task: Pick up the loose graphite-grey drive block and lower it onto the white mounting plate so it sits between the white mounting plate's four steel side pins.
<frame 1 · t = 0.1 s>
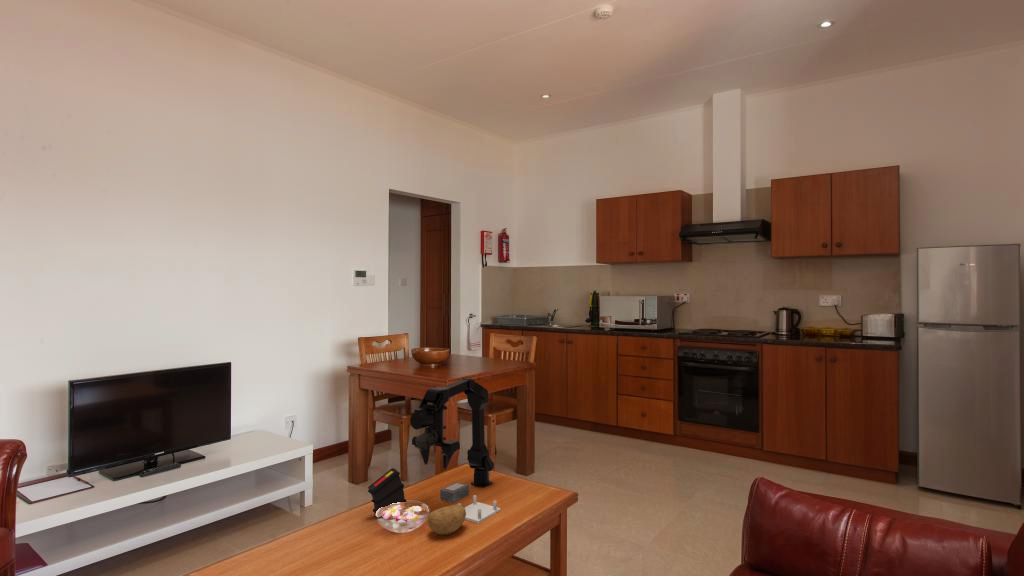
hand: (435, 466, 191), 14 cm above the table, tool pointing down, fingers open, 9 cm apart
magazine: (387, 514, 185), on the table
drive: (454, 498, 200), on the table
white mounting plate: (477, 513, 186), on the table
potato: (447, 532, 171), on the table
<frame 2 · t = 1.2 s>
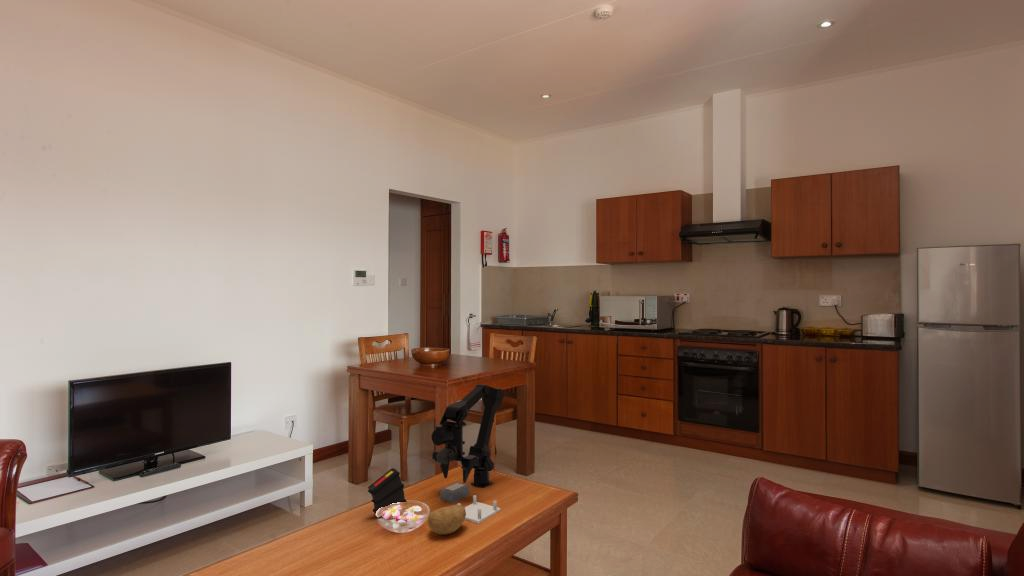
hand: (455, 480, 201), 6 cm above the table, tool pointing down, fingers open, 9 cm apart
nothing on the table moved.
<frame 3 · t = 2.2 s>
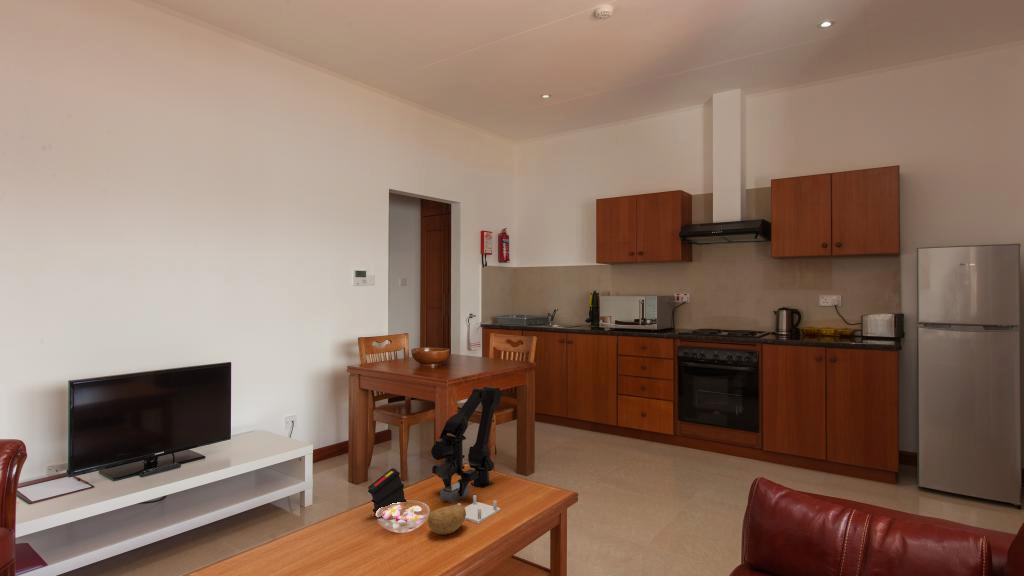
hand: (454, 494, 200), 1 cm above the table, tool pointing down, fingers closed on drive, 6 cm apart
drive: (454, 497, 200), on the table, touching gripper
everything else where it was.
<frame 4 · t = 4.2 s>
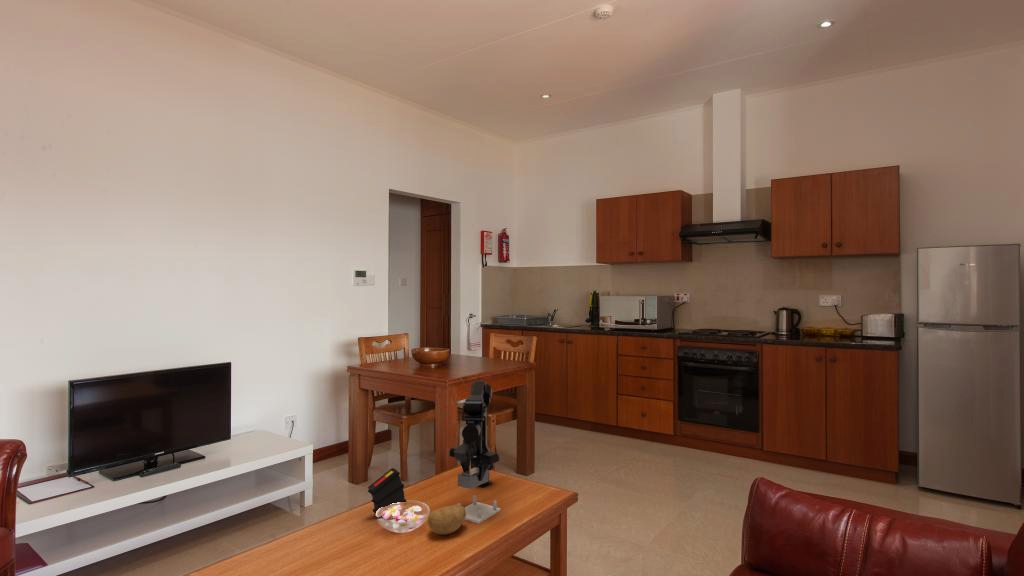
hand: (473, 479, 187), 11 cm above the table, tool pointing down, fingers closed on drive, 6 cm apart
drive: (473, 483, 187), point 10 cm above the table, touching gripper
everything else where it was.
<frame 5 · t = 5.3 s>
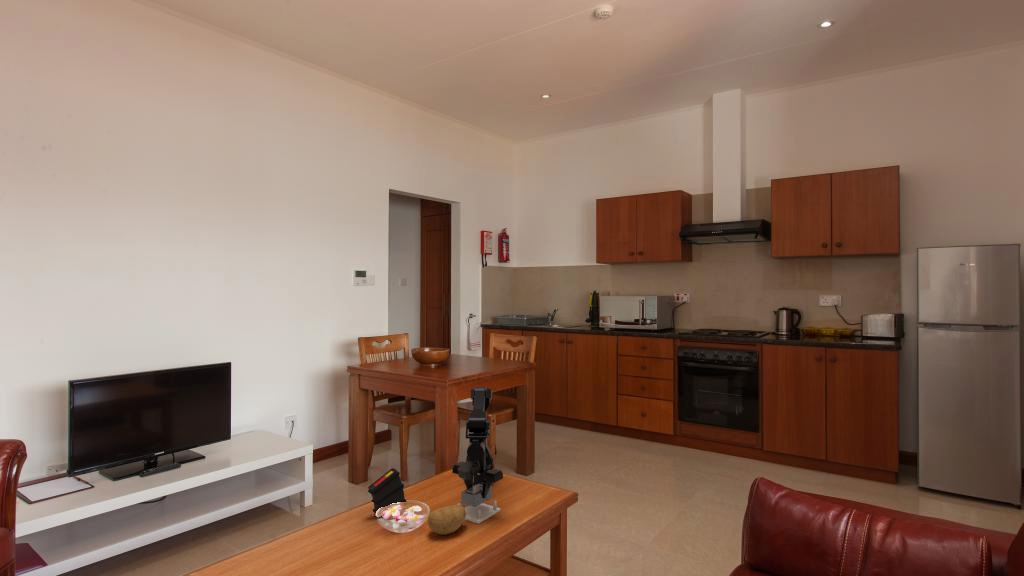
hand: (477, 496, 186), 6 cm above the table, tool pointing down, fingers closed on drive, 6 cm apart
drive: (476, 500, 186), point 4 cm above the table, touching gripper
everything else where it was.
when the fingers open (3 cm above the table, at t = 6.2 s): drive drops 1 cm, resting on white mounting plate.
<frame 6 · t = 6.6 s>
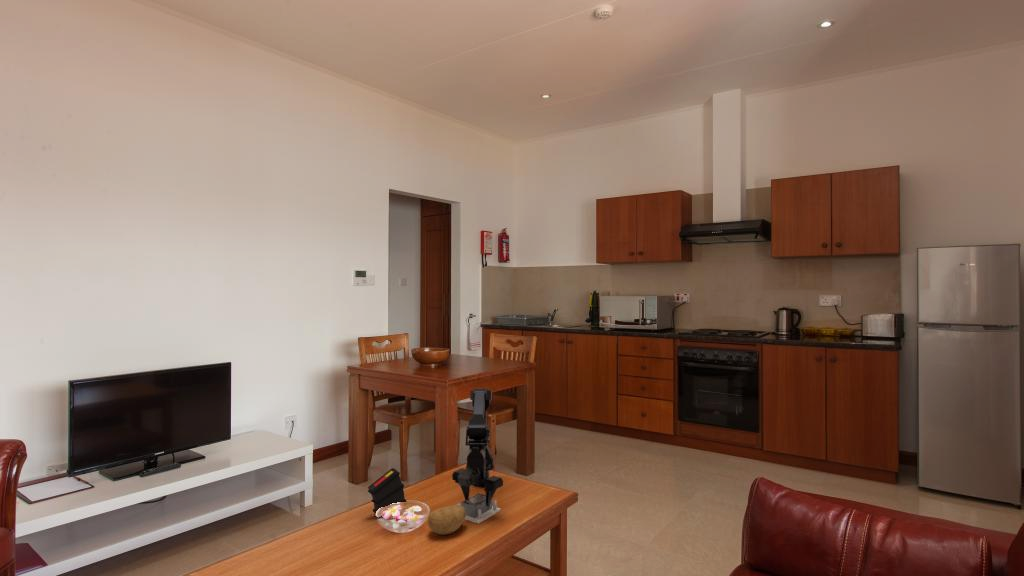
hand: (477, 503, 186), 3 cm above the table, tool pointing down, fingers open, 9 cm apart
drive: (476, 510, 186), point 1 cm above the table, touching white mounting plate
everything else where it was.
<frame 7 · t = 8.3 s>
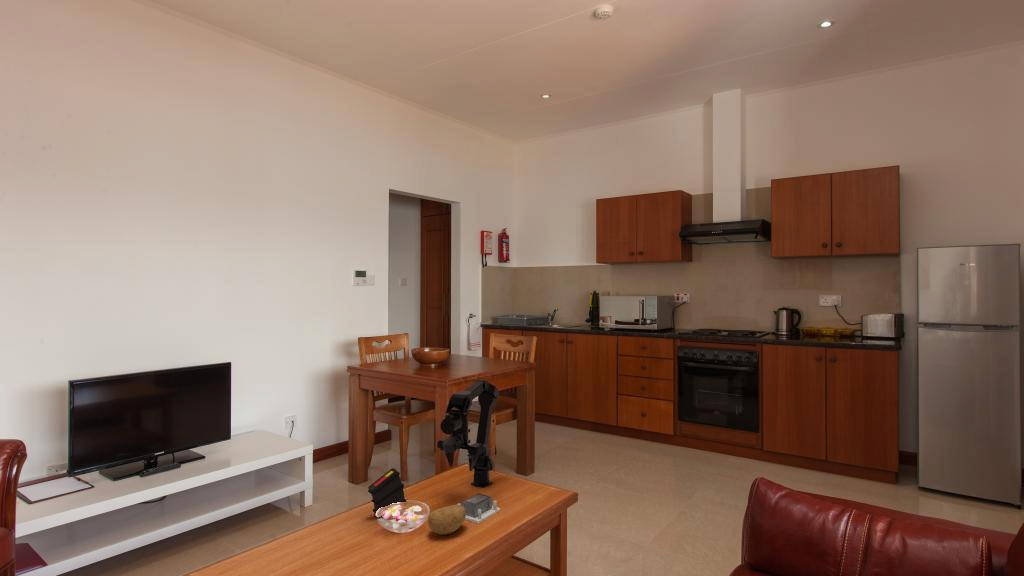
hand: (460, 468, 198), 12 cm above the table, tool pointing down, fingers open, 9 cm apart
nothing on the table moved.
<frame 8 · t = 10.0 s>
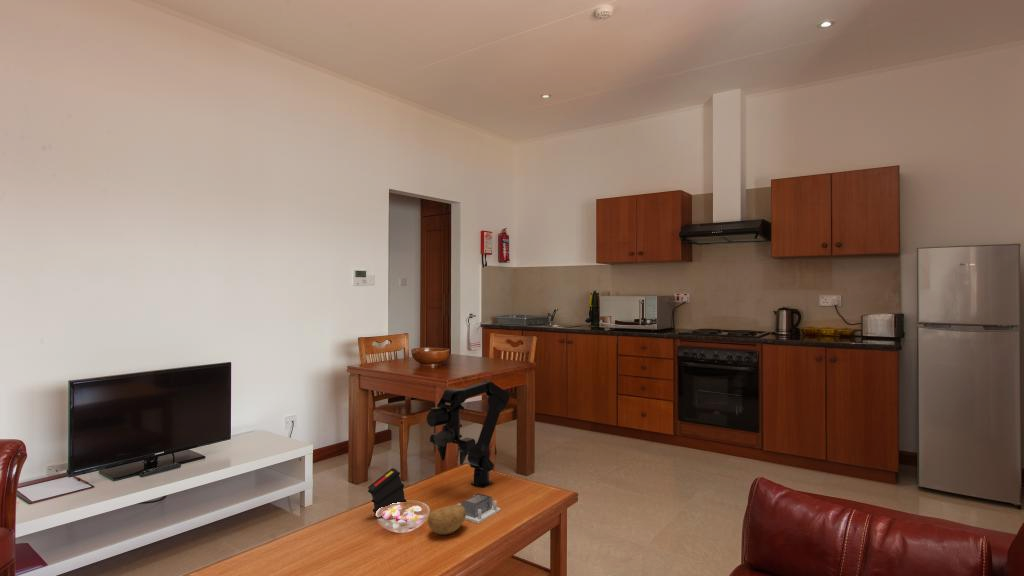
hand: (452, 462, 204), 12 cm above the table, tool pointing down, fingers open, 9 cm apart
nothing on the table moved.
at the end: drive 0.0 cm off-centre on the white mounting plate, point 0.8 cm above the white mounting plate's base; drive tilted 0°; the gripper is holding nothing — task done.
